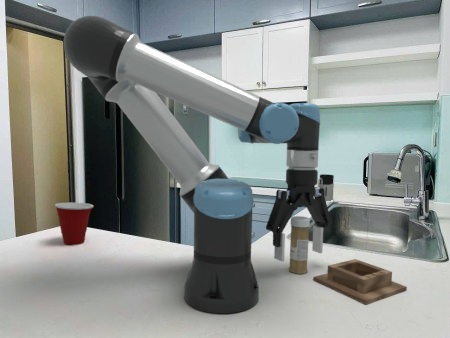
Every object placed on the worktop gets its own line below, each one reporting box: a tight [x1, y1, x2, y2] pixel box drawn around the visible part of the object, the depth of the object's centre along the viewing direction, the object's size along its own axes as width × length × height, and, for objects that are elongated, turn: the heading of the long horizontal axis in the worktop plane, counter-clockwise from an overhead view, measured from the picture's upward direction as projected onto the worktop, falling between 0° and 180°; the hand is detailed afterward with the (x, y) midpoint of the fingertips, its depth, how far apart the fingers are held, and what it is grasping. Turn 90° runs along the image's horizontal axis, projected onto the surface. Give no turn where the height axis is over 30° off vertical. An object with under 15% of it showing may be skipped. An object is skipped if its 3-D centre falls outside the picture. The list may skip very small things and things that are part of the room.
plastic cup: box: [54, 202, 94, 246], centre depth 106 cm, size 11×11×12 cm
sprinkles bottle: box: [288, 215, 311, 275], centre depth 85 cm, size 5×5×13 cm
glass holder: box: [317, 173, 335, 201], centre depth 193 cm, size 9×14×15 cm, turn 139°
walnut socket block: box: [312, 258, 408, 306], centre depth 78 cm, size 14×14×4 cm
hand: (298, 255), depth 86 cm, fingers open, 12 cm apart
